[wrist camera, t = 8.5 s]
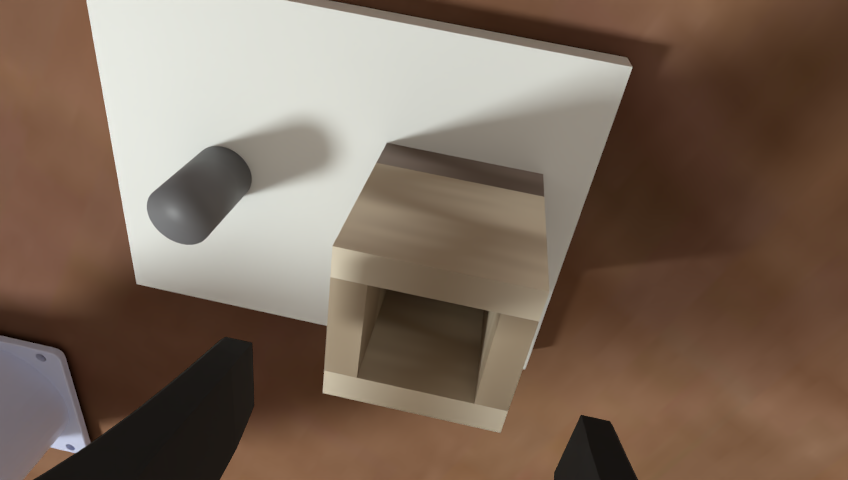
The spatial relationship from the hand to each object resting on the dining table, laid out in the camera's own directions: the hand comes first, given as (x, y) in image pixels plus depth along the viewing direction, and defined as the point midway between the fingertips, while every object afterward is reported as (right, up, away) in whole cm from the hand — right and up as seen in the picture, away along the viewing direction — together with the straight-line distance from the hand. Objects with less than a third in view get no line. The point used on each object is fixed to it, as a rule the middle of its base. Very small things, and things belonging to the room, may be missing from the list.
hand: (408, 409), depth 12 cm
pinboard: (-2, +6, +8) cm, 10 cm away
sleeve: (+1, +4, +7) cm, 8 cm away
